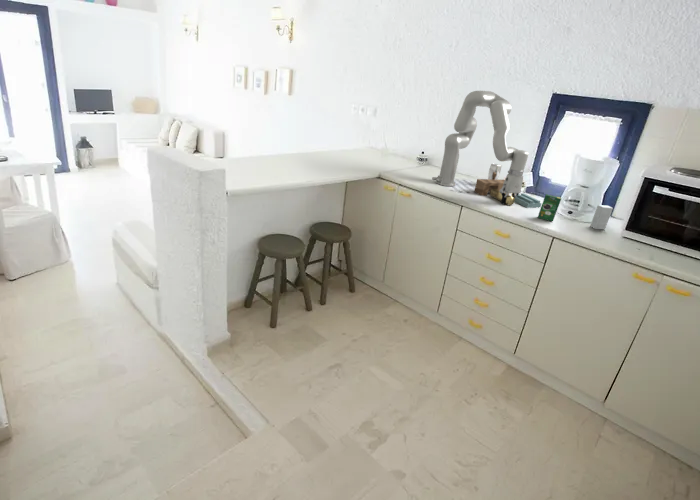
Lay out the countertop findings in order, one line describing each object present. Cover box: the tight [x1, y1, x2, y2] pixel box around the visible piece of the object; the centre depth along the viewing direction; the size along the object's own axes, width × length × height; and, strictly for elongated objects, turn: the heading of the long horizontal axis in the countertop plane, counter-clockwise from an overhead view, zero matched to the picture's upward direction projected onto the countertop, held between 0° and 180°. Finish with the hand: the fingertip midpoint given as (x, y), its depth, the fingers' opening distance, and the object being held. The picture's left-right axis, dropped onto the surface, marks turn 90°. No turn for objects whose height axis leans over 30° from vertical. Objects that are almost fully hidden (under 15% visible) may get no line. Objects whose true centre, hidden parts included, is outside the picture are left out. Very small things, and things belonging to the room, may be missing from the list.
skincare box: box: [589, 204, 614, 230], centre depth 214 cm, size 6×4×12 cm
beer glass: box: [487, 163, 502, 180], centre depth 265 cm, size 7×7×15 cm
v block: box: [514, 192, 543, 209], centre depth 242 cm, size 10×14×4 cm
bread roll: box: [489, 189, 516, 206], centre depth 241 cm, size 16×5×5 cm, turn 20°
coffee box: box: [537, 193, 562, 222], centre depth 217 cm, size 8×3×13 cm, turn 62°
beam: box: [473, 178, 510, 197], centre depth 253 cm, size 20×8×8 cm, turn 110°
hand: (506, 203), depth 238 cm, fingers closed on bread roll, 5 cm apart
